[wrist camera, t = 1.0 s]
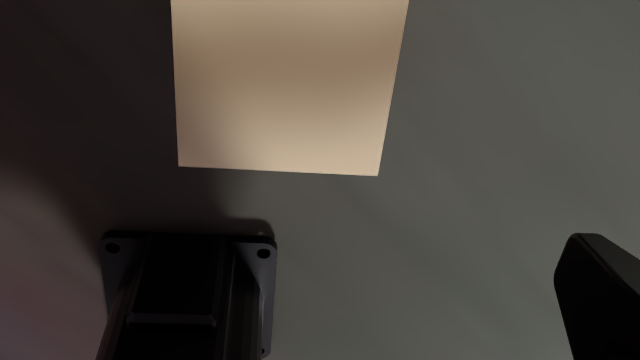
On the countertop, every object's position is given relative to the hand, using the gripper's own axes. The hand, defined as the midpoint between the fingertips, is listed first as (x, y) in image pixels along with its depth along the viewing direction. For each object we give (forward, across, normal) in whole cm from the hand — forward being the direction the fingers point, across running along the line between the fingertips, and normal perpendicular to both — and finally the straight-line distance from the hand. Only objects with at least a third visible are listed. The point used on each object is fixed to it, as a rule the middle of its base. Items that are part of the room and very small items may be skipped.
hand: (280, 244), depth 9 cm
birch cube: (+11, 0, 0) cm, 11 cm away
